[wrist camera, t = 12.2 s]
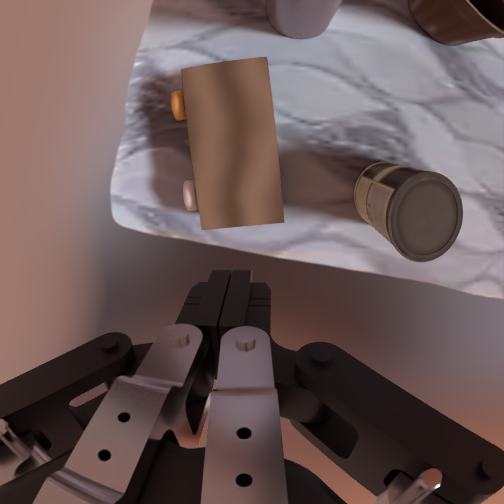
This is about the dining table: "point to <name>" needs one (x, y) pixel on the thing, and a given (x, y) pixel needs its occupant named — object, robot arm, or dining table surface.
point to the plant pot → (459, 19)
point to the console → (233, 143)
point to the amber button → (178, 105)
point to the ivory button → (190, 195)
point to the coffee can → (410, 208)
